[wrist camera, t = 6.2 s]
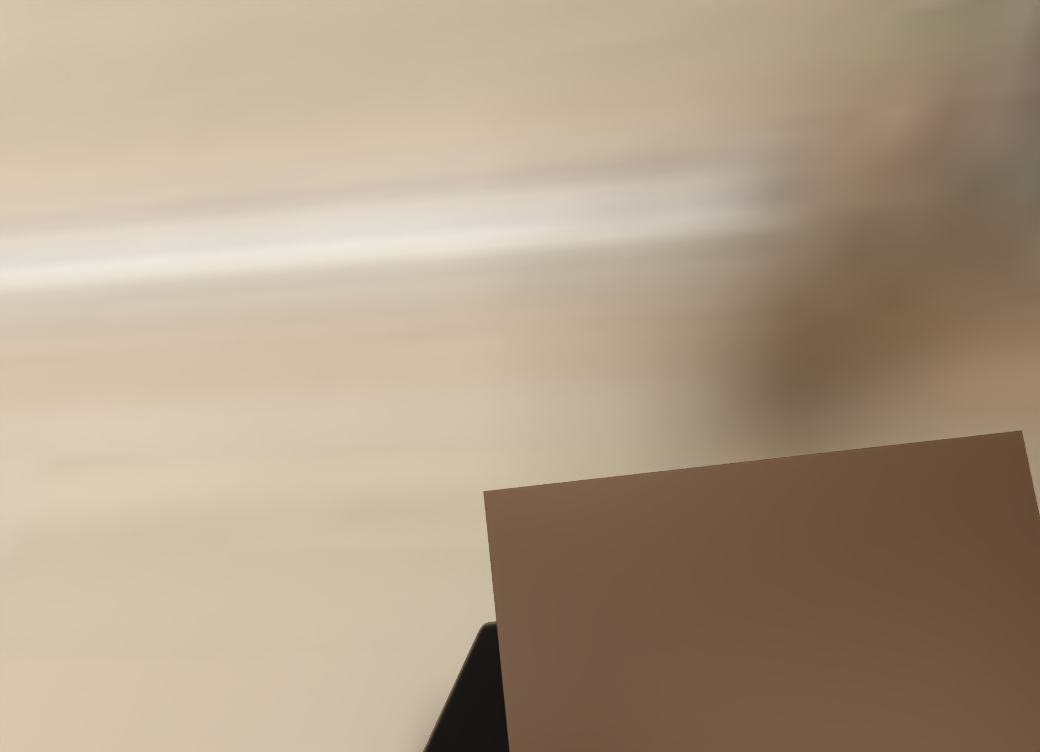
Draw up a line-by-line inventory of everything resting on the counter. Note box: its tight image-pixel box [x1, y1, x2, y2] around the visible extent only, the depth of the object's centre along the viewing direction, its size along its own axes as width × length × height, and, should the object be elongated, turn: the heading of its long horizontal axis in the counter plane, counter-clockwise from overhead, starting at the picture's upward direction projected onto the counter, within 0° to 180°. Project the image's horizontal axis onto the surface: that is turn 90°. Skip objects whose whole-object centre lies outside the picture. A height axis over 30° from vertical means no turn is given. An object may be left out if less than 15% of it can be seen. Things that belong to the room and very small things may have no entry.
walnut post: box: [484, 431, 1040, 752], centre depth 11 cm, size 4×4×10 cm
